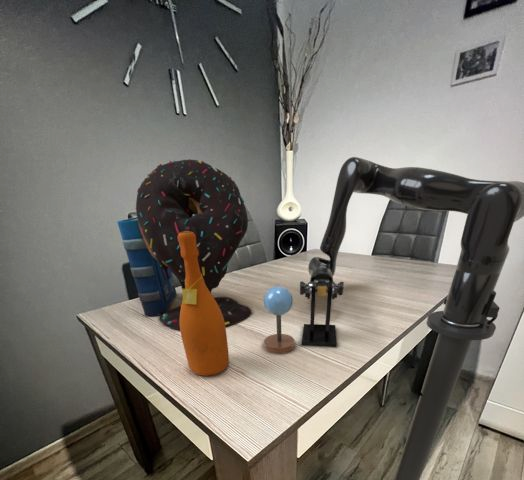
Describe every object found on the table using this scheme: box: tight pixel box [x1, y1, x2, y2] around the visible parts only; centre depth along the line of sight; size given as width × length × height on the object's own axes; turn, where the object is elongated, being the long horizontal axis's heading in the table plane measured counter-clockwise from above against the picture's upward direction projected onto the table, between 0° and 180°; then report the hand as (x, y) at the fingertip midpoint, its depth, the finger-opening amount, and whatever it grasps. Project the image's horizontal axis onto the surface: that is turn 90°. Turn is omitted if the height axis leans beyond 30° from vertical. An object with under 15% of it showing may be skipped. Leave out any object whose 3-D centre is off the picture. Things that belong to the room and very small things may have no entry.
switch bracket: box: [300, 282, 338, 348], centre depth 72 cm, size 11×9×15 cm
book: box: [116, 216, 177, 317], centre depth 98 cm, size 24×9×30 cm, turn 5°
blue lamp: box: [263, 285, 296, 355], centre depth 68 cm, size 8×8×16 cm
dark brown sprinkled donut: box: [135, 158, 252, 331], centre depth 84 cm, size 30×32×45 cm
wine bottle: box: [178, 231, 230, 377], centre depth 58 cm, size 10×10×30 cm
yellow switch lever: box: [316, 286, 328, 297], centre depth 75 cm, size 14×6×2 cm, turn 169°
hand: (321, 295), depth 79 cm, fingers open, 6 cm apart
